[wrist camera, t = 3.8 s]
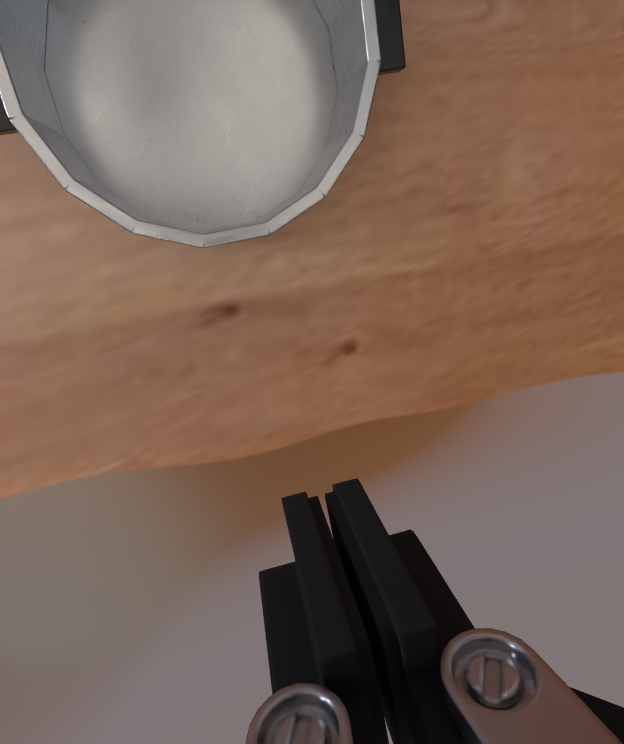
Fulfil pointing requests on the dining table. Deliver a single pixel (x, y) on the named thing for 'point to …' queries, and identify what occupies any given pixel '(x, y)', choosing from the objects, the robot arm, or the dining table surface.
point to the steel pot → (195, 104)
